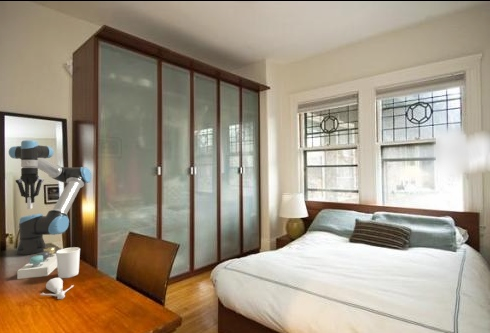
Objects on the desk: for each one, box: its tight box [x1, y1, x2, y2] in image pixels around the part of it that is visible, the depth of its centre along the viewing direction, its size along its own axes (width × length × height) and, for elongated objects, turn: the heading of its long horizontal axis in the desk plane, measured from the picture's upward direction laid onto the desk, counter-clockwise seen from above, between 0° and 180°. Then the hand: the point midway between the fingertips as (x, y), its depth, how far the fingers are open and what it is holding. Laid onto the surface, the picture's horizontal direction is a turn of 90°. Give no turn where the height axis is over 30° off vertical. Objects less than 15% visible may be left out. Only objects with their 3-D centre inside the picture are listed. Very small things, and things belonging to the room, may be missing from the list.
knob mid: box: [36, 251, 50, 262], centre depth 142 cm, size 5×5×7 cm
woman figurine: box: [39, 277, 74, 300], centre depth 113 cm, size 12×4×18 cm
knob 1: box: [29, 254, 43, 267], centre depth 134 cm, size 5×5×7 cm
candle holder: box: [55, 246, 81, 279], centre depth 132 cm, size 10×10×12 cm
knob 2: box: [43, 246, 56, 257], centre depth 149 cm, size 5×5×7 cm
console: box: [16, 253, 57, 280], centre depth 142 cm, size 25×12×4 cm, turn 17°
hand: (30, 208), depth 156 cm, fingers closed
